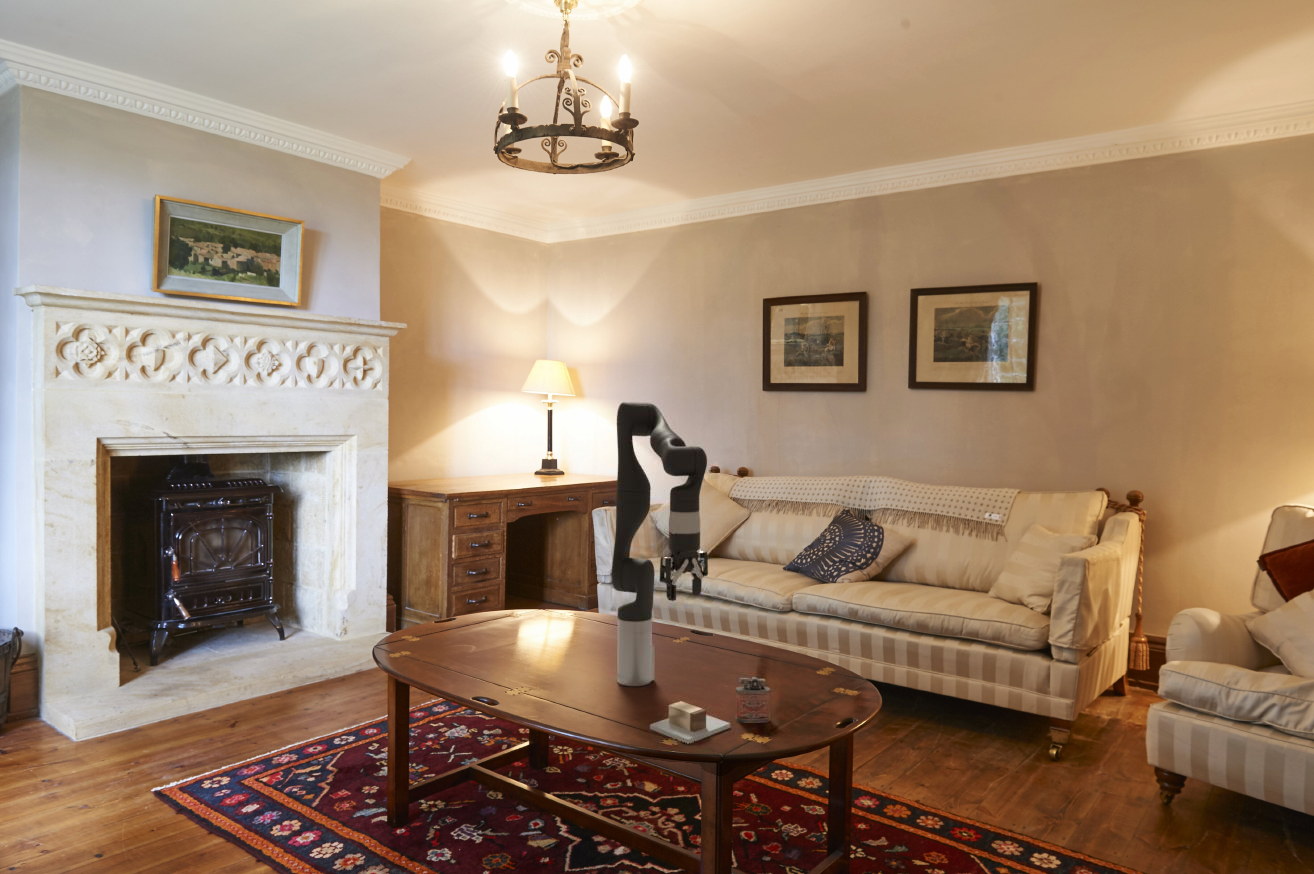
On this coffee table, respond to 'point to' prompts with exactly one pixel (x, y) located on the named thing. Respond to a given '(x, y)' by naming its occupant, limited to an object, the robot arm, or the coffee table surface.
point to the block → (687, 716)
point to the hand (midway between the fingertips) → (684, 597)
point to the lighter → (752, 701)
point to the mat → (688, 736)
